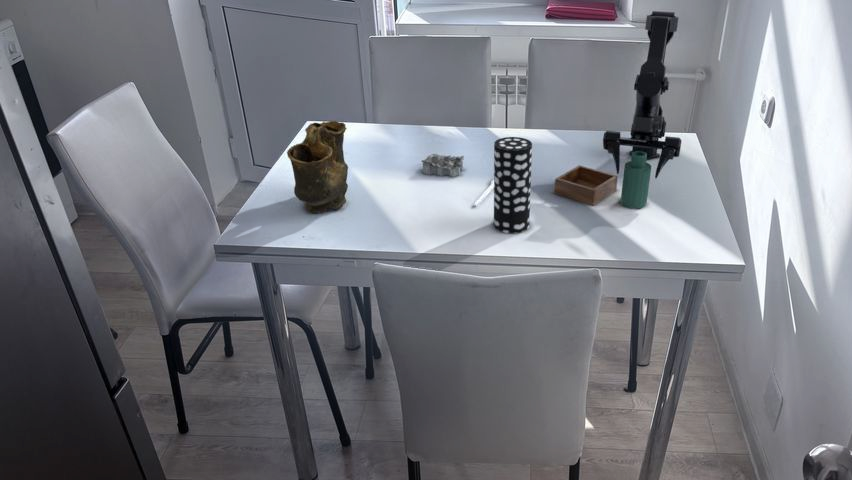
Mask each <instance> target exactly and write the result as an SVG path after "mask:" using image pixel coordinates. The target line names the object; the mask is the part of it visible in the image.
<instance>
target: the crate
mask: <svg viewBox="0 0 852 480" xmlns="http://www.w3.org/2000/svg"><path fill="white" fill-rule="evenodd" d="M618 179H619V177H618V175H617V174H612V173H610V172H609V173H608V172H605V171H601V170H598V169H594V168H591V167H587V166H584V165H580V164H579V165H577V166H576V167H573V168H572V169H570V170H568V171H566V172H565V173H563V174H561V175H559V176H557V177H556V178H555V179H554V191H553V193H554V194H555V195H558V196H561V197H565V198H567V199H571V200H574V201H577V202H580V203H583V204H586V205H590V206H595V205H597V204H598V203H600V202H601V201H603V200H604V199H606V198H607V197H609V196H610V195H612V194H613V193H615V192H616V191H617V186H618Z"/></svg>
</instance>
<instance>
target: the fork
mask: <svg viewBox="0 0 852 480" xmlns="http://www.w3.org/2000/svg"><path fill="white" fill-rule="evenodd" d="M492 190H494V178H493V179H492V180H491V181H490V185H489V186H488V187H487V189H485V191H484V192H483V193H482V194H481V195H480V196H479V197H478V198H477V200H475V202H474V204H473V207H477V206H478V205H479V204H481V202H482V201H483V200H484V199H485V198H486V197H487V196H488V195H489V194H490V192H491V191H492Z"/></svg>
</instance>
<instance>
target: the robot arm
mask: <svg viewBox="0 0 852 480" xmlns="http://www.w3.org/2000/svg"><path fill="white" fill-rule="evenodd" d="M675 13H676V12H675V11H657V10H652V12H651V14H647V15H646V19H645V28H644V30H646V31H647V37H648V40H649V46H648V51H647V57H646V61H645V62H644V63H643V64H641V65H640V69H639V74H636V78H635V79H634V80H635V81H634V85H633V90H634V91H636V93H635V103H636V104H635V110H634V113H633V119H632V124H631V127H630V137H622V136H621V131H617V130H605V131H604V133H603V137H602V147H603V150H605V151H607V153H608V154H611V155H612V158H613V160H614V166H615V171H616V175H619V174H620V170H621V169H620V167H621V164H620V163H621V146H623V147H624V146H625V147H632V150H630V151H629V154H630V155H632V153H633V152H635V151H641V152H645V153H647V159H646V160H651V159H655V158H659V160H658V162H657V165H656V170H655V176H654V179H656V180H657V179H658V178H659V175H660V174H661V172H662V170H663V168H664V167H665V165H666V164H668V161H669V160H674V158H678V157H680V154H681V147H682V141H683V140H682V139H681V137H679V136H678V137H676V136H667V135H666V136H665V134H666V129H667V128H666V127H667V121H666V119H665V116H664V115H663V112H664V111H663V108H662V106H661V96H662V95H663V93H666V92H667V91H669V87H670V80H669V77H668V76H666V70H667V67H666V65H665V59H666V52H667V47H668V46H669V44H670V43H671V42H672V40H673V39H674V35H675V32H677V31H678V26H679V18H680V17H679V16H676V15H675ZM663 138H664V141H663V140H659V139H663ZM658 150H661V152H660V153H658Z"/></svg>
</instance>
